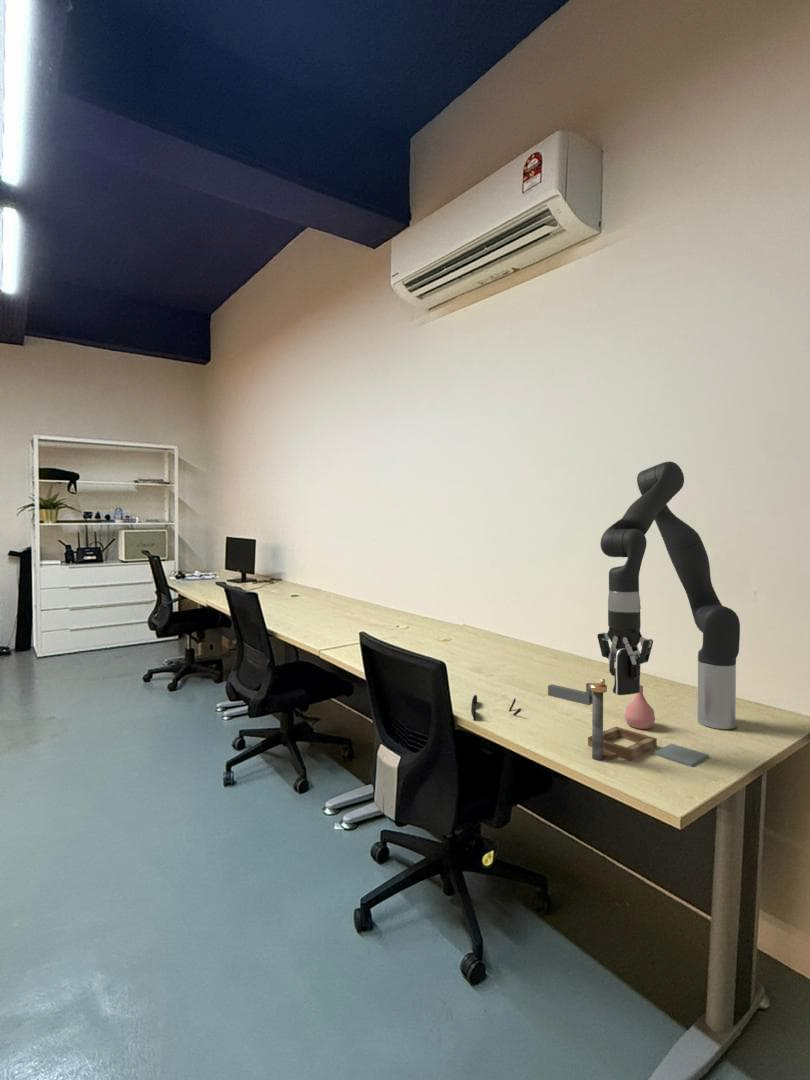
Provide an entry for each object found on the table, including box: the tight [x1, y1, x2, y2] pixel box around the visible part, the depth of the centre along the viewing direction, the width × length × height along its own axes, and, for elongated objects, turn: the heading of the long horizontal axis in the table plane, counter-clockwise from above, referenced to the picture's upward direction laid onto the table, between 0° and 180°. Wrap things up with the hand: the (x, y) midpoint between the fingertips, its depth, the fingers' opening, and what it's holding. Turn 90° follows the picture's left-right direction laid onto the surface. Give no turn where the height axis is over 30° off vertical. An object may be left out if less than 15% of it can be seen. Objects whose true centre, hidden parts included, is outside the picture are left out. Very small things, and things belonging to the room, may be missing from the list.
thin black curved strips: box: [470, 694, 522, 722], centre depth 161 cm, size 17×14×5 cm
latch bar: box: [547, 678, 608, 706], centre depth 135 cm, size 15×4×7 cm, turn 43°
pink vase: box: [624, 684, 656, 730], centre depth 152 cm, size 8×8×12 cm
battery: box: [609, 648, 641, 696], centre depth 138 cm, size 7×4×11 cm, turn 110°
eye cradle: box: [587, 692, 658, 762], centre depth 136 cm, size 19×11×16 cm, turn 129°
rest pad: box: [653, 743, 710, 767], centre depth 133 cm, size 9×9×1 cm
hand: (624, 677), depth 137 cm, fingers closed on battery, 4 cm apart
